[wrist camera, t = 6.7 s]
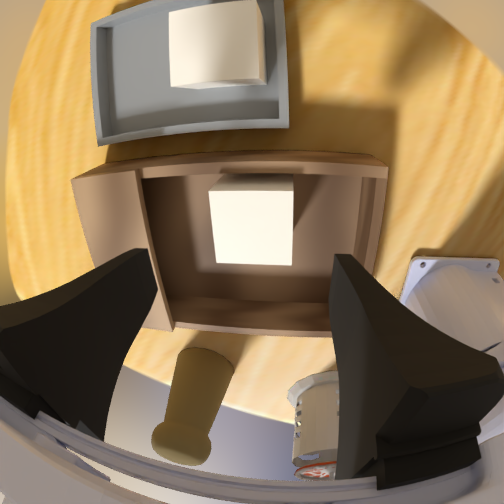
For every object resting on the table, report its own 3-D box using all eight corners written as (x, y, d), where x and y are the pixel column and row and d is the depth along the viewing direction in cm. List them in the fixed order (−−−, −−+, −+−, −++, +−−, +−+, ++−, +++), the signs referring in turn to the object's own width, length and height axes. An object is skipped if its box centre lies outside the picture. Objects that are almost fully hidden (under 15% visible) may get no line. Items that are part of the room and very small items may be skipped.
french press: (357, 358, 24) (359, 617, 3) (386, 404, 28) (394, 585, 6) (270, 387, 28) (234, 605, 6) (316, 425, 32) (302, 591, 10)
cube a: (195, 29, 12) (168, 12, 9) (264, 22, 12) (256, -1, 8) (197, 89, 14) (170, 86, 11) (266, 84, 14) (259, 78, 10)
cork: (185, 339, 25) (145, 440, 16) (243, 363, 26) (221, 466, 17) (172, 368, 28) (138, 453, 19) (222, 388, 29) (200, 475, 20)
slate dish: (282, -9, 11) (281, -20, 9) (289, 125, 15) (288, 127, 14) (105, 26, 12) (90, 23, 11) (112, 141, 17) (98, 146, 15)
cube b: (292, 171, 16) (293, 191, 13) (292, 232, 18) (291, 265, 15) (226, 171, 17) (208, 191, 13) (231, 230, 19) (216, 262, 15)
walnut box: (371, 154, 15) (391, 169, 12) (349, 306, 21) (357, 342, 18) (104, 163, 18) (70, 179, 14) (136, 293, 23) (116, 323, 20)
